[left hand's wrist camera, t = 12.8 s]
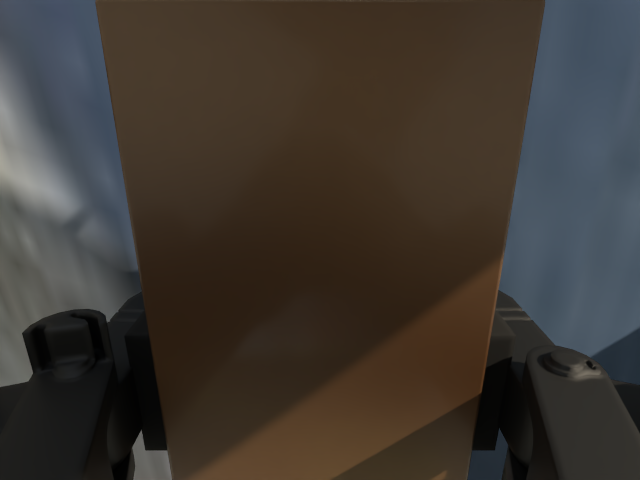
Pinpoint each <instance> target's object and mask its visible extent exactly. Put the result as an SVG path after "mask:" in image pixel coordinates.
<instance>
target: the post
mask: <svg viewBox="0 0 640 480" xmlns="http://www.w3.org/2000/svg"><path fill="white" fill-rule="evenodd" d="M95 3H96V9H97V15H98V21H99V28H100V34H101V40H102V46H103V52H104V59H105V65H106V71H107V77H108V84H109V90H110V96H111V102H112V108H113V115H114V121H115V127H116V133H117V139H118V146H119V152H120V158H121V164H122V170H123V177H124V183H125V189H126V195H127V201H128V208H129V214H130V220H131V226H132V232H133V239H134V245H135V251H136V257H137V263H138V270H139V276H140V282H141V288H142V295H143V301H144V307H145V313H146V319H147V326H148V332H149V338H150V344H151V350H152V357H153V363H154V369H155V375H156V381H157V388H158V394H159V400H160V406H161V412H162V419H163V425H164V431H165V437H166V443H167V450H168V456H169V462H170V468H171V474H172V480H467V478H468V472H469V466H470V459H471V453H472V447H473V441H474V435H475V429H476V423H477V417H478V411H479V404H480V398H481V392H482V386H483V380H484V374H485V368H486V362H487V355H488V349H489V343H490V337H491V331H492V325H493V319H494V313H495V307H496V300H497V294H498V288H499V282H500V276H501V270H502V264H503V258H504V251H505V245H506V239H507V233H508V227H509V221H510V215H511V209H512V203H513V196H514V190H515V184H516V178H517V172H518V166H519V160H520V154H521V147H522V141H523V135H524V129H525V123H526V117H527V111H528V105H529V99H530V92H531V86H532V80H533V74H534V68H535V62H536V56H537V50H538V43H539V37H540V31H541V25H542V19H543V13H544V7H545V0H96V2H95Z"/></svg>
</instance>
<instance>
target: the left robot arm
mask: <svg viewBox="0 0 640 480" xmlns="http://www.w3.org/2000/svg"><path fill="white" fill-rule="evenodd" d="M22 335H23V338H24V342H25V345H26V349H27V352H28V356H29V359H30V363H31V366H32V370H33V375H32V377H31V378H30V380H29V382H25V383H20V384H15V385H9V386H4V387H0V480H133V477H134V470H135V462H134V455H133V450H132V446H133V444H134V443H135V441H136V439H137V437H138V435H139V433H140V431H141V429H142V434H143V439H144V445H145V450H167V443H166V437H165V431H164V425H163V419H162V412H161V406H160V400H159V394H158V388H157V381H156V375H155V369H154V363H153V357H152V350H151V344H150V338H149V332H148V326H147V319H146V313H145V307H144V301H143V295H142V292H140V293H139V294H137V295H135V296H134V297H132V298H130V299H128V300H127V302H126V303H125V304H124V305H123V306H122V307H121V308H120V309H119V312H118V313H116V314H115V315H114V316H113V317H112V318H111V319H110V322H108V323H107V321H106V316H105V315H104V314H103V313H101V312H100V311H96V310H91V309H77V310H70V311H65V312H60V313H57V314H54V315H51V316H48V317H45V318H43V319H41V320H39V321H37V322H36V323H34V324H32V325H30V326H29V327H28V328H27V329H26V330H25V331H24V332H23V333H22ZM499 428H500V430H501V432H502V434H503V436H504V438H505V440H506V441H507V443H508V450H507V455H506V460H505V465H504V470H503V475H502V480H640V385H636V384H631V383H626V382H620V381H616V380H612V379H610V378H609V376H608V374H607V372H606V371H605V370H604V369H603V368H602V366H601V365H600V364H599V363H597V362H596V361H594V360H593V359H591V358H590V357H588V356H587V355H584V354H582V353H580V352H577V351H575V350H572V349H568V348H564V347H560V346H555V345H554V343H553V342H552V341H551V340H550V339H549V338H548V337H547V336H546V335H545V334H544V332H543V331H542V330H541V329H540V328H539V327H538V326H537V325H536V324H535V323H534V321H533V320H530V317H529V316H528V315H527V314H526V313H525V311H522V308H521V307H520V306H519V305H518V304H517V303H516V302H515V300H514V299H513V298H511V297H510V296H508V295H506V294H504V293H503V292H501V291H499V290H498V294H497V300H496V307H495V313H494V319H493V325H492V331H491V337H490V343H489V349H488V355H487V362H486V368H485V374H484V380H483V386H482V392H481V398H480V404H479V411H478V417H477V423H476V429H475V435H474V441H473V447H472V450H495V447H496V441H497V436H498V431H499Z"/></svg>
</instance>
